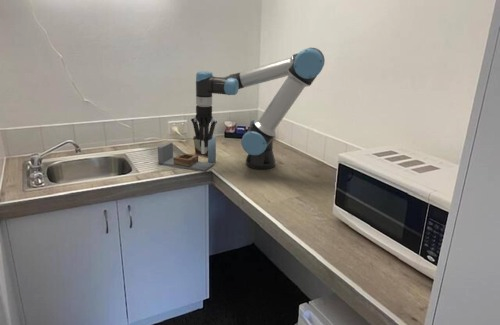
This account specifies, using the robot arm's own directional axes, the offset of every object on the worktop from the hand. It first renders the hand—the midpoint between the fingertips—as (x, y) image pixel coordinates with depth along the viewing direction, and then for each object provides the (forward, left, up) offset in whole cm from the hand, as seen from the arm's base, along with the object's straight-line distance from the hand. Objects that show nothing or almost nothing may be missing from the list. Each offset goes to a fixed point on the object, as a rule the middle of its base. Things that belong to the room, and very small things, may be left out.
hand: (203, 153), depth 185 cm
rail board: (0, -10, -8) cm, 13 cm away
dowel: (-9, 0, -8) cm, 12 cm away
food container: (-20, -9, -8) cm, 23 cm away
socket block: (0, -10, -6) cm, 12 cm away
